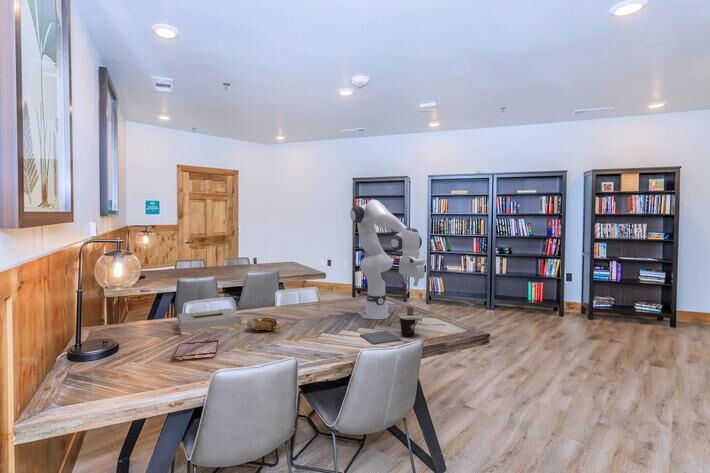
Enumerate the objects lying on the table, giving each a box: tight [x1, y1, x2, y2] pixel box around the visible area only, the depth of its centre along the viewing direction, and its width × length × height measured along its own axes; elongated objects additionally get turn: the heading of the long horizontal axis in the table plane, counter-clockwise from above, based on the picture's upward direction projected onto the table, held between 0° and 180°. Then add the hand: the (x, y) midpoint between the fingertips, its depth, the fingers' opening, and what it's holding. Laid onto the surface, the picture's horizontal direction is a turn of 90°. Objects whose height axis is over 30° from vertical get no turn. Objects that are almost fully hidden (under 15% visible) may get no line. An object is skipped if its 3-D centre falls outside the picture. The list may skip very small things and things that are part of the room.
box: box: [176, 307, 242, 332], centre depth 225 cm, size 23×8×32 cm
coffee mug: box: [399, 318, 419, 338], centre depth 208 cm, size 12×9×10 cm
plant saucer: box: [173, 339, 220, 358], centre depth 180 cm, size 18×18×3 cm
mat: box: [359, 330, 402, 345], centre depth 203 cm, size 16×16×1 cm
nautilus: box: [246, 315, 280, 334], centre depth 215 cm, size 8×22×15 cm
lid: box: [397, 306, 424, 321], centre depth 208 cm, size 13×13×5 cm
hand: (410, 284), depth 207 cm, fingers open, 8 cm apart
